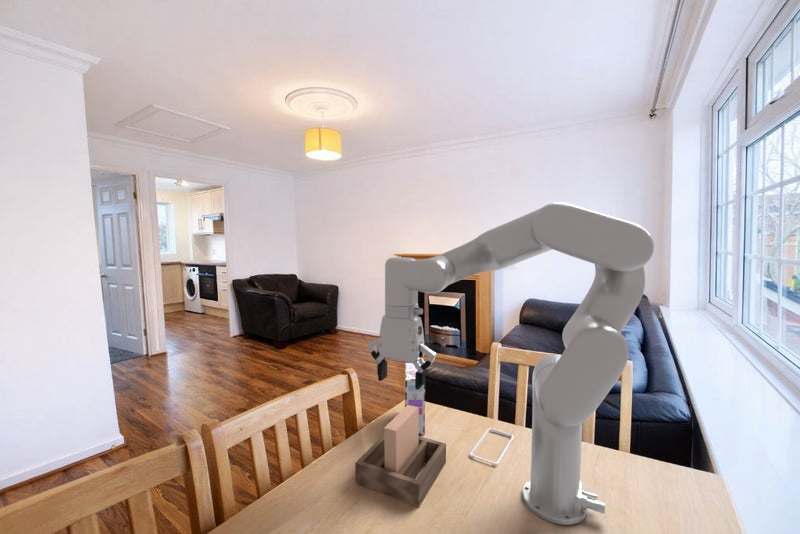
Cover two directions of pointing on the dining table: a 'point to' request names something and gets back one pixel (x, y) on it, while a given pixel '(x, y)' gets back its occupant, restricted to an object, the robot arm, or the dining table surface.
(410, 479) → the slotted box
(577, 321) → the robot arm
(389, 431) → the pink block
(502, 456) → the phone case
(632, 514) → the dining table surface
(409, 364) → the candy box
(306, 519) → the dining table surface
